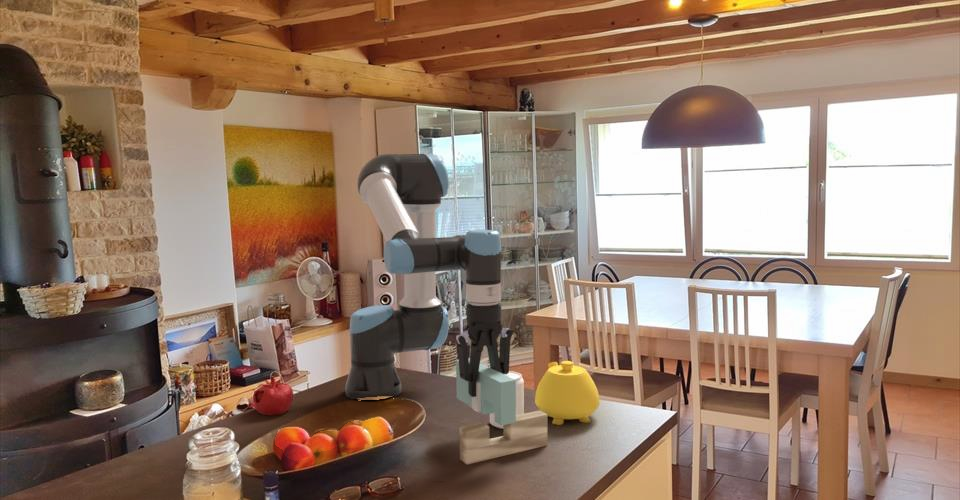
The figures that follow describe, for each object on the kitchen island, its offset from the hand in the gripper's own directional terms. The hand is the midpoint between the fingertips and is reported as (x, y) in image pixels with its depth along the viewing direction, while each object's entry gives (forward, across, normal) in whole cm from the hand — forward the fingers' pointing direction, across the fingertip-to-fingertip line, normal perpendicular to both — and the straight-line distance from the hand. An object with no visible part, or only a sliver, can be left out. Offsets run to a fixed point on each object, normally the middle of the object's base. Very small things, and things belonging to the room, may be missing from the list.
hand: (485, 408), depth 151 cm
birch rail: (+9, +2, -5) cm, 10 cm away
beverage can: (+9, +11, +9) cm, 17 cm away
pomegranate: (+9, -35, +47) cm, 59 cm away
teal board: (0, 0, 0) cm, 0 cm away
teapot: (+9, +27, +8) cm, 30 cm away
